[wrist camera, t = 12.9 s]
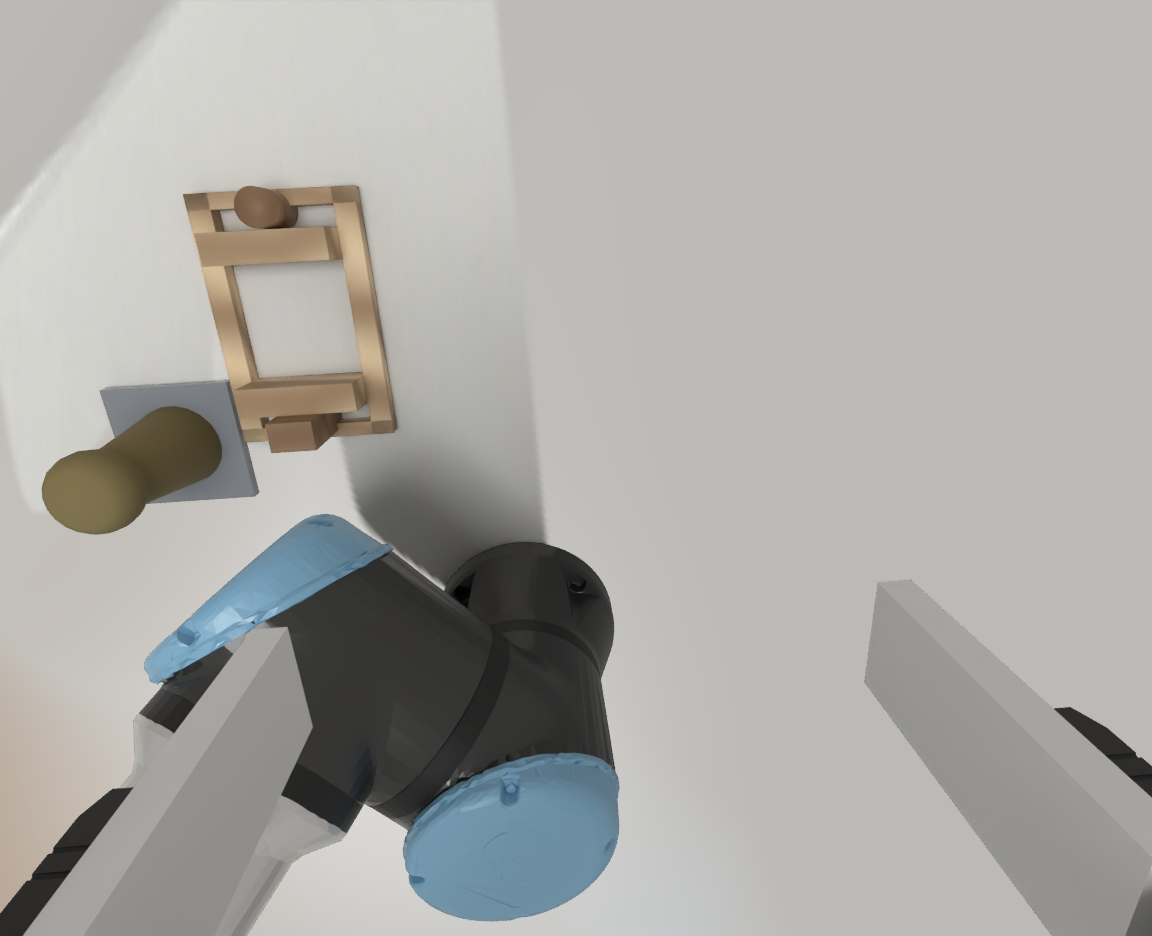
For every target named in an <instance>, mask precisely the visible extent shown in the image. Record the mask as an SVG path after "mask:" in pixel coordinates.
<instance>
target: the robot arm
mask: <svg viewBox="0 0 1152 936" xmlns="http://www.w3.org/2000/svg"><path fill="white" fill-rule="evenodd" d="M392 550H393V548H391V547H390V546H389V545H387V544H381V543H379V542H378V541H376V540H375V539H373V538H372V537H370V536H368V535H367V534H365V533H363V532H362V531H361V530H359V529H358V528H356V527H355V526H353V525H352V524H351V523H349V522H348V521H346V520H345V519H343V518H340V517H338V516H335V515H329V514H322V515H315V516H311V517H309V518H307V519H305V520H303V521H301V522H300V523H298V524H297V525H296V526H294V527H293V528H292V529H290V530H289V531H288V532H287V533H286V534H284V535H283V536H282V537H280V538H279V539H278V540H277V541H276V542H275V543H273V544H272V545H271V546H270V547H268V548H267V549H266V550H265V551H264V552H263V553H261V554H260V555H259V556H258V557H257V558H256V559H254V560H253V561H252V562H251V563H250V564H248V565H247V566H246V567H245V568H244V569H243V570H242V571H240V572H239V573H238V574H237V575H236V576H235V577H234V578H232V579H231V580H230V581H229V582H228V583H227V584H226V585H225V586H223V587H222V588H221V589H220V590H219V591H218V592H217V593H216V594H215V595H213V596H212V597H211V598H210V599H209V600H208V601H207V602H205V603H204V604H203V605H202V606H201V607H200V608H199V609H198V610H197V611H196V612H195V613H193V615H192V616H191V617H190V618H189V619H187V620H186V621H185V622H184V623H183V624H182V625H181V626H180V627H179V628H178V629H177V630H176V631H174V632H173V633H172V634H171V635H170V636H168V637H167V638H166V639H165V640H164V641H163V642H162V643H161V644H160V645H159V646H157V647H156V648H155V650H153V651H152V652H151V653H150V654H149V656H148V657H147V658H146V660H145V662H144V669H145V671H146V672H147V673H148V675H149V679H150V681H151V682H153V683H156V684H158V683H160V682H163V683H164V684H163V685H162V687H161V689H160V690H159V691H158V692H157V693H156V694H155V696H154V697H153V698H152V699H151V700H150V702H148V704H147V705H146V706H145V707H144V708H143V709H142V710H141V712H140V713H139V714H138V715H137V716H136V717H135V719H134V720H133V727H134V750H135V761H134V765H133V769H132V773H131V775H130V776H129V777H128V778H127V779H126V781H125V782H124V783H123V784H122V785H121V787H120V788H118V789H112V790H111V791H109V792H108V793H107V794H106V795H104V796H103V797H102V798H101V799H100V800H98V801H97V802H96V803H95V804H93V805H92V806H91V807H90V808H88V809H87V810H86V811H85V812H84V813H82V814H81V815H80V816H79V817H78V818H77V819H76V820H75V822H74V823H73V824H72V825H71V827H70V828H69V829H68V830H67V832H66V833H65V834H64V835H63V837H62V838H61V839H60V840H59V841H58V843H57V844H56V845H55V846H54V848H53V849H54V850H53V853H52V854H48V855H47V856H46V858H45V859H44V860H43V861H42V862H41V864H40V865H39V866H38V867H37V869H36V870H35V871H34V872H33V874H32V879H31V880H30V881H26V882H25V884H24V885H23V886H22V887H21V889H20V890H19V891H18V893H16V895H15V896H14V897H13V898H12V900H11V901H10V902H9V903H8V905H7V906H6V907H5V908H4V910H3V911H2V912H1V913H0V936H247V935H248V933H249V932H250V930H251V928H252V927H253V925H254V923H255V922H256V920H257V919H258V917H259V916H260V914H261V912H262V911H263V909H264V907H265V906H266V904H267V903H268V901H269V899H270V898H271V896H272V894H273V893H274V891H275V890H276V888H277V887H278V885H279V883H280V882H281V880H282V879H283V877H284V875H285V874H286V872H287V871H288V869H289V867H290V866H291V864H292V863H293V862H295V861H296V860H297V859H299V858H300V857H301V856H303V855H305V854H308V853H310V852H313V851H315V850H318V849H321V848H323V847H326V846H329V845H331V844H334V843H336V842H339V841H341V840H342V839H343V838H344V836H345V835H346V833H347V832H348V830H349V829H350V827H351V825H352V824H353V822H354V820H355V819H356V817H357V815H358V813H359V812H360V810H361V808H362V807H363V805H364V804H366V805H367V806H369V807H371V808H373V809H375V810H376V811H378V812H380V813H381V814H383V815H385V816H386V817H388V818H389V819H391V820H392V821H394V822H396V823H398V824H399V825H401V826H402V827H404V828H406V829H407V830H408V833H407V836H406V837H405V842H404V847H403V855H404V859H405V866H406V870H407V872H408V873H409V881H410V884H411V886H412V888H413V889H414V891H415V892H416V893H417V895H418V896H419V897H420V898H422V899H423V900H424V901H425V902H426V903H428V904H429V905H430V906H432V907H434V908H435V909H437V910H439V911H441V912H444V913H446V914H449V915H452V916H456V917H459V918H463V919H469V920H476V921H507V920H513V919H516V918H520V917H527V916H533V915H536V914H540V913H543V912H546V911H548V910H551V909H553V908H555V907H558V906H560V905H562V904H564V903H566V902H568V901H569V900H571V899H573V898H574V897H576V896H577V895H579V894H580V893H581V892H583V891H584V890H585V889H587V888H588V887H589V886H590V885H591V884H592V883H593V882H594V881H595V880H596V879H597V878H598V877H599V876H600V874H601V873H602V872H603V871H604V869H605V868H606V866H607V865H608V863H609V861H610V859H611V857H612V855H613V853H614V850H615V847H616V844H617V840H618V835H619V817H618V803H617V798H618V792H619V781H618V777H617V774H616V772H615V766H614V761H613V754H612V747H611V741H610V734H609V729H608V722H607V715H606V709H605V703H604V697H603V690H602V684H601V677H602V674H603V671H604V669H605V666H606V663H607V660H608V657H609V654H610V651H611V648H612V644H613V636H614V620H613V614H612V608H611V603H610V599H609V596H608V593H607V591H606V588H605V586H604V585H603V583H602V581H601V580H600V578H599V577H598V575H597V574H596V573H595V572H594V571H593V570H592V568H591V567H589V566H588V565H587V564H586V563H585V562H584V561H582V560H581V559H579V558H578V557H576V556H575V555H573V554H571V553H569V552H567V551H565V550H562V549H560V548H557V547H554V546H550V545H546V544H540V543H512V544H506V545H502V546H498V547H495V548H492V549H489V550H487V551H484V552H482V553H480V554H478V555H477V556H475V557H473V558H472V559H470V560H469V561H468V562H466V563H465V564H464V565H463V566H462V567H461V568H460V569H459V570H458V571H457V572H456V573H455V574H454V575H453V577H452V578H451V579H450V581H449V582H448V584H447V586H446V588H445V590H444V591H443V590H442V589H440V588H439V587H438V586H436V585H435V584H434V583H432V582H431V581H430V580H429V579H427V578H426V577H425V576H423V575H422V574H421V573H420V572H418V571H417V570H416V569H414V568H413V567H412V566H411V565H409V564H408V563H407V562H405V561H404V560H403V559H401V558H400V557H399V556H398V555H396V554H395V553H394V552H392ZM865 684H866V685H867V687H868V688H869V689H870V691H871V692H872V693H873V695H874V696H875V697H876V699H877V700H878V701H879V703H880V704H881V705H882V707H883V708H884V709H885V711H886V712H887V713H888V715H889V716H890V717H891V719H892V720H893V722H894V723H895V724H896V726H897V727H898V728H899V730H900V731H901V733H902V734H903V735H904V737H905V738H906V739H907V741H908V742H909V743H910V745H911V746H912V747H913V749H914V750H915V751H916V753H917V754H918V755H919V757H920V758H921V759H922V761H923V762H924V764H925V765H926V766H927V768H928V769H929V770H930V772H931V773H932V774H933V776H934V777H935V778H936V780H937V781H938V783H939V784H940V785H941V787H942V788H943V789H944V791H945V792H946V793H947V795H948V796H949V797H950V799H951V800H952V801H953V803H954V804H955V806H956V807H957V808H958V810H959V811H960V812H961V814H962V815H963V816H964V818H965V819H966V820H967V822H968V823H969V824H970V826H971V827H972V829H973V830H974V831H975V833H976V834H977V835H978V836H979V838H980V839H981V841H982V842H983V843H984V845H985V846H986V848H987V849H988V850H989V852H990V853H991V854H992V856H993V857H994V858H995V859H996V861H997V862H998V864H999V865H1000V866H1001V868H1002V869H1003V870H1004V872H1005V873H1006V874H1007V876H1008V877H1009V878H1010V880H1011V881H1012V883H1013V884H1014V885H1015V887H1016V888H1017V889H1018V891H1019V892H1020V893H1021V895H1022V896H1023V897H1024V899H1025V900H1026V901H1027V903H1028V904H1029V905H1030V907H1031V908H1032V910H1033V911H1034V912H1035V914H1036V915H1037V916H1038V918H1039V919H1040V920H1041V922H1042V923H1043V925H1044V926H1045V927H1046V929H1047V930H1048V931H1049V933H1050V934H1051V935H1052V936H1152V766H1151V765H1150V764H1148V763H1147V762H1146V761H1145V760H1144V759H1143V758H1138V757H1137V756H1136V752H1134V751H1133V750H1132V749H1131V748H1130V747H1128V746H1127V745H1126V744H1125V743H1124V742H1123V741H1122V740H1120V739H1119V738H1118V737H1117V736H1116V735H1115V734H1113V733H1112V732H1111V731H1110V730H1109V729H1108V728H1106V727H1104V726H1103V725H1101V724H1099V723H1097V722H1096V721H1094V720H1092V719H1090V718H1089V717H1087V716H1085V715H1083V714H1082V713H1080V712H1078V711H1076V710H1074V709H1072V708H1071V707H1067V708H1055V709H1053V708H1052V707H1051V706H1050V705H1049V704H1048V703H1046V702H1045V701H1044V700H1043V699H1042V698H1041V697H1040V696H1039V695H1038V694H1037V693H1036V692H1034V691H1033V690H1032V689H1031V688H1030V687H1029V686H1028V685H1027V684H1026V683H1025V682H1023V681H1022V680H1021V679H1020V678H1019V677H1018V676H1017V675H1016V674H1015V673H1013V672H1012V671H1011V670H1010V669H1009V668H1008V667H1007V666H1006V665H1004V663H1002V662H1001V661H1000V660H999V659H998V658H997V657H996V656H995V655H994V654H992V653H991V652H990V651H989V650H988V649H987V648H986V647H985V646H984V645H982V644H981V643H980V642H979V641H978V640H977V639H976V638H975V637H974V636H972V634H970V633H969V632H968V631H967V630H966V629H965V628H964V627H963V626H962V625H960V624H959V623H958V622H957V621H956V620H955V619H954V618H953V617H951V615H949V614H948V613H947V612H946V611H945V610H944V609H942V607H941V606H939V605H938V604H937V603H936V602H935V601H934V600H933V599H932V598H931V597H929V596H928V595H927V594H926V593H925V592H924V591H923V590H922V589H921V588H920V587H919V586H917V585H916V584H915V583H914V582H913V581H912V580H901V581H888V582H878V584H877V592H876V599H875V607H874V614H873V622H872V629H871V636H870V644H869V652H868V659H867V666H866V674H865Z"/></svg>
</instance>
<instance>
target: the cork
mask: <svg viewBox="0 0 1152 936" xmlns="http://www.w3.org/2000/svg"><path fill="white" fill-rule="evenodd" d="M221 459H222V445H221V442H220V439H219V435H218V434H217V432H216V431H215V429H214V428H213V426H212V425H211V424H210V423H209V422H208V421H207V420H206V419H204V418H203V417H202V416H201V415H200V414H197V413H195V412H193V411H191V410H189V409H187V408H181V407H176V406H170V407H161V408H159V409H156V410H154V411H152V412H150V413H149V414H147V415H146V416H144V417H143V418H142V419H140V420H139V421H138V422H136V423H135V424H133V425H132V426H131V427H129V428H128V429H127V430H125V431H124V432H122V433H121V434H120V435H118V436H117V437H116V438H114V439H113V440H111V441H110V442H109V443H107V444H106V445H105V446H103V447H102V448H100V449H96V450H87V451H78V452H75V453H73V454H71V455H69V456H66V457H64V458H62V459H60V460H59V461H58V462H56V463H55V464H54V465H53V467H52V468H51V469H50V470H49V471H48V472H47V473H46V476H45V479H44V482H43V485H42V498H43V501H44V503H45V506H46V508H47V510H48V511H49V512H50V514H51V515H52V516H53V517H54V518H55V519H56V520H57V521H58V522H60V523H61V524H62V525H64V526H65V527H67V528H70V529H72V530H74V531H77V532H81V533H88V534H105V533H111V532H114V531H117V530H119V529H121V528H124V527H126V526H127V525H129V524H130V523H132V522H133V521H134V520H135V519H136V518H137V517H138V516H139V515H140V514H141V512H142V511H143V509H144V507H145V505H146V504H147V503H149V502H152V501H154V500H156V499H159V498H161V497H163V496H166V495H168V494H170V493H173V492H175V491H177V490H180V489H182V488H184V487H187V486H189V485H191V484H194V483H196V482H198V481H201V480H203V479H205V478H207V477H210V476H211V475H212V474H213V473H214V472H215V471H216V470H217V468H218V466H219V464H220V461H221Z"/></svg>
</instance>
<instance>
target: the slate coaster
mask: <svg viewBox="0 0 1152 936" xmlns="http://www.w3.org/2000/svg"><path fill="white" fill-rule="evenodd" d="M100 394H101V397H102V400H103V403H104V406H105V409H106V412H107V415H108V418H109V421H110V424H111V427H112V430H113V433H114V436H115V438H116V437H117V436H118V435H120V434H121V433H122V432H124V431H125V430H127V429H128V428H129V427H131V426H132V425H133V424H135V423H136V422H138V421H139V420H140V419H142V418H143V417H144V416H146V415H147V414H149V413H150V412H152V411H154V410H156V409H159V408H161V407H170V406H176V407H181V408H187V409H189V410H191V411H193V412H195V413H197V414H200V415H201V416H202V417H203V418H204V419H206V420H207V421H208V422H209V423H210V424H211V425H212V426H213V428H214V429H215V431H216V432H217V434H218V435H219V439H220V442H221V445H222V459H221V461H220V464H219V466H218V468H217V470H216V471H215V472H214V473H213V474H212V475H211V476H210V477H207V478H205V479H203V480H201V481H198V482H196V483H194V484H191V485H189V486H187V487H184V488H182V489H180V490H177V491H175V492H173V493H170V494H168V495H166V496H163V497H161V498H159V499H156V500H154V501H152V502H149V503H147V504H150V503H166V502H180V501H195V500H209V499H224V498H238V497H253V496H256V495H257V494H258V493H259V490H258V486H257V482H256V478H255V474H254V470H253V466H252V462H251V458H250V454H249V450H248V446H247V442H245V440H244V436H243V432H242V428H241V424H240V420H239V416H238V412H237V408H236V404H235V400H234V396H233V392H232V388H231V384H230V380H226V381H210V382H194V383H178V384H162V385H146V386H130V387H114V388H105V389H102V390H100Z"/></svg>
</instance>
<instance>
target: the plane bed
mask: <svg viewBox="0 0 1152 936" xmlns="http://www.w3.org/2000/svg"><path fill="white" fill-rule="evenodd" d="M183 197H184V201H185V205H186V209H187V213H188V217H189V220H190V224H191V228H192V232H193V236H194V240H195V244H196V248H197V252H198V256H199V260H200V264H201V268H202V272H203V276H204V280H205V284H206V288H207V292H208V296H209V300H210V304H211V308H212V312H213V316H214V320H215V324H216V328H217V332H218V336H219V340H220V344H221V348H222V352H223V356H224V360H225V364H226V368H227V372H228V376H229V380H230V384H231V388H232V392H233V396H234V400H235V404H236V408H237V412H238V416H239V420H240V424H241V428H242V432H243V436H244V440H245V442H261V441H269V445H270V449H271V453H280V452H294V451H309V450H317V449H318V448H319V447H320V446H322V445H323V444H324V443H325V442H326V441H327V440H328V439H329V438H330V437H336V436H352V435H367V434H382V433H394V431H395V430H396V429H397V426H396V420H395V413H394V407H393V401H392V395H391V388H390V382H389V376H388V370H387V363H386V357H385V351H384V345H383V338H382V332H381V326H380V320H379V313H378V307H377V301H376V295H375V288H374V282H373V276H372V270H371V263H370V257H369V251H368V244H367V238H366V232H365V226H364V219H363V213H362V207H361V201H360V194H359V188H358V187H357V186H354V185H351V186H332V187H313V188H294V189H275V190H270V189H265V188H260V187H255V186H246V187H243V188H242V189H240V190H239V191H237V192H218V193H199V194H183ZM315 205H333V206H334V211H335V217H336V223H337V227H326V226H319V227H301V228H290V227H292V226H293V225H294V224H295V223H296V221H297V218H298V209H297V206H315ZM222 210H235V212H236V214H237V216H238V218H239V219H240V220H241V221H242V222H243V223H244V224H246V225H248V226H250V227H253V228H264V230H246V231H228V232H224V229H223V225H222V220H221V216H220V212H219V211H222ZM334 259H343V263H344V269H345V274H346V280H347V286H348V292H349V297H350V303H351V309H352V315H353V320H354V326H355V332H356V338H357V343H358V349H359V355H360V361H361V366H362V372H354V373H338V374H322V375H306V376H290V377H274V378H258V374H257V370H256V366H255V361H254V357H253V353H252V348H251V344H250V340H249V336H248V331H247V327H246V323H245V319H244V314H243V310H242V306H241V301H240V297H239V293H238V289H237V284H236V280H235V276H234V272H233V267H232V265H247V264H265V263H282V262H300V261H318V260H334ZM367 402H368V407H369V412H370V417H368V418H352V419H342V416H341V412H355V411H358V410H359V409H360V408H361V407H362V406H363V405H365V404H366V403H367ZM268 417H275V418H274V419H272V420H271V421H268Z"/></svg>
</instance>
